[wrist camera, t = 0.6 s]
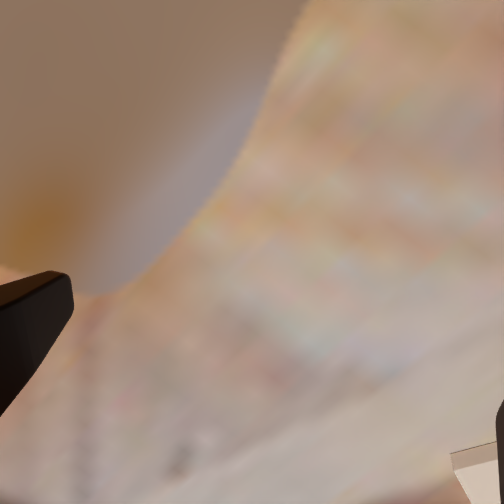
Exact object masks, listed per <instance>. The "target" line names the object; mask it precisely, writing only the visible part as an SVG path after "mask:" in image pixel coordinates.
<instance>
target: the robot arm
mask: <svg viewBox="0 0 504 504" xmlns="http://www.w3.org/2000/svg"><path fill="white" fill-rule="evenodd" d="M73 310H74V300H73V292H72V285H71V280H70V277H69V276H68V275H67V274H65V273H60V272H56V271H46V272H43V273H39V274H36V275H33V276H29V277H26V278H23V279H20V280H16V281H13V282H10V283H6V284H3V285H0V417H1V415H2V414H3V413H4V412H5V410H6V409H7V408H8V406H9V405H10V404H11V403H12V401H13V400H14V399H15V398H16V396H17V395H18V394H19V393H20V391H21V390H22V389H23V387H24V386H25V385H26V384H27V382H28V381H29V380H30V378H31V377H32V376H33V374H34V373H35V372H36V370H37V369H38V367H39V366H40V364H41V363H42V361H43V360H44V358H45V357H46V355H47V354H48V352H49V350H50V349H51V347H52V346H53V344H54V343H55V341H56V339H57V338H58V336H59V335H60V333H61V332H62V330H63V328H64V327H65V325H66V324H67V322H68V321H69V319H70V317H71V316H72V313H73ZM496 438H497V455H498V472H499V489H500V501H501V504H504V400H503V402H502V404H501V406H500V408H499V410H498V412H497V416H496Z"/></svg>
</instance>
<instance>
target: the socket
mask: <svg viewBox="0 0 504 504" xmlns="http://www.w3.org/2000/svg"><path fill="white" fill-rule="evenodd" d="M450 457H451V462H452V466H453V471H454V473H455V474H456V476H457V478H458V480H459V482H460V484H461V485H462V487H463V489H464V491H465V493H466V495H467V496H468V498H469V500H470V502H471V504H501V501H500V489H499V472H498V455H497V442H494V443H490V444H487V445H483V446H479V447H475V448H471V449H468V450H464V451H460V452H456V453H453V454H450Z"/></svg>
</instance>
